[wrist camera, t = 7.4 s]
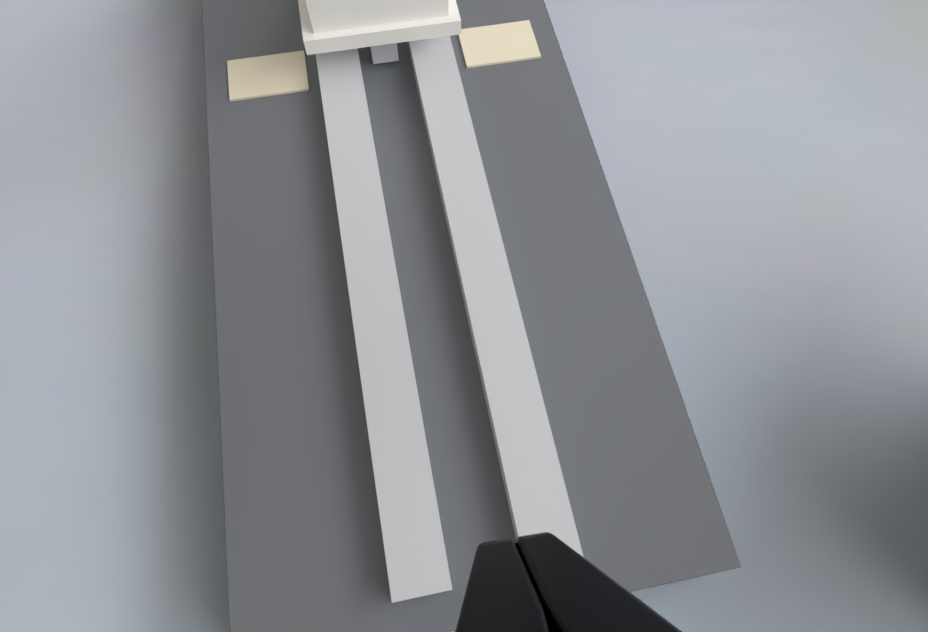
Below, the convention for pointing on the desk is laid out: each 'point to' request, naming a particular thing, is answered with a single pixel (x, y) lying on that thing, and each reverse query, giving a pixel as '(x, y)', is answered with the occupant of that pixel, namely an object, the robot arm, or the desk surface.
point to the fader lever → (375, 24)
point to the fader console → (428, 328)
